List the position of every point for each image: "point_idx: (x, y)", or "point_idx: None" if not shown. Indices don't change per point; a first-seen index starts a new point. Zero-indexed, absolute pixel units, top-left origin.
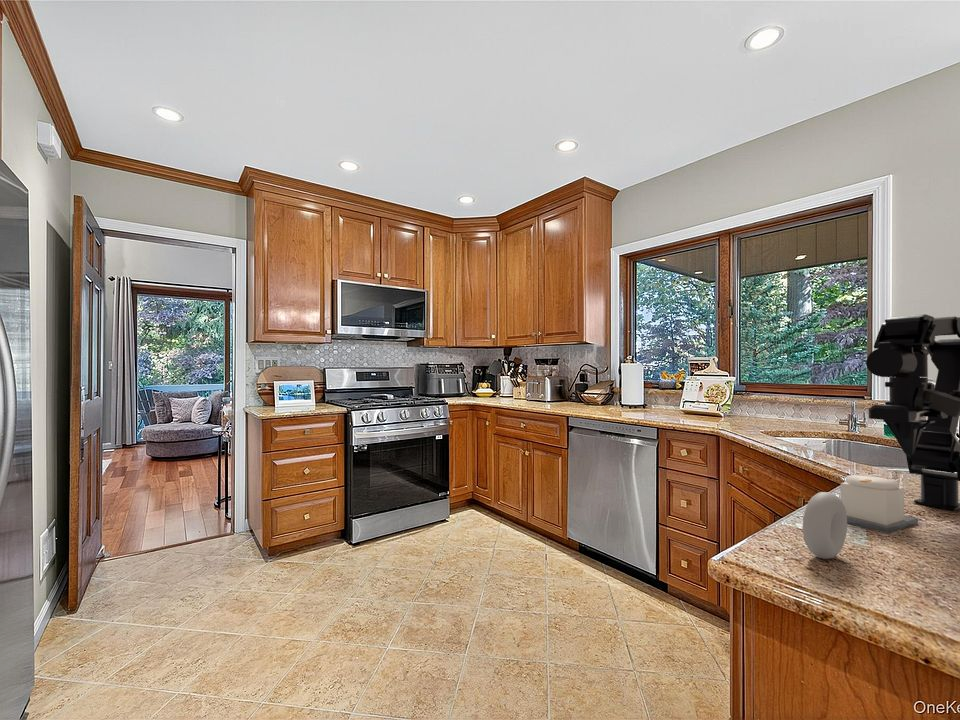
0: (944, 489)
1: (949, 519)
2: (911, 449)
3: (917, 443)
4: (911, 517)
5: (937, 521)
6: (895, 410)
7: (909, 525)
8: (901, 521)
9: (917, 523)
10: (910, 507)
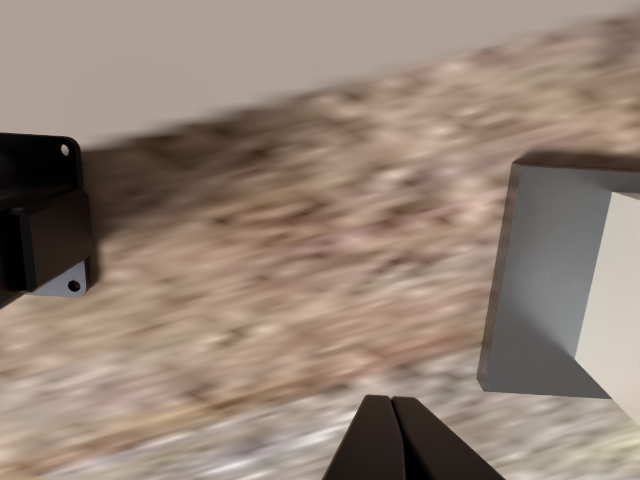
0: (7, 195)
1: (280, 106)
2: (448, 437)
3: (330, 467)
4: (531, 187)
5: (379, 126)
6: None
7: (605, 168)
8: None
9: (518, 163)
10: (195, 274)
